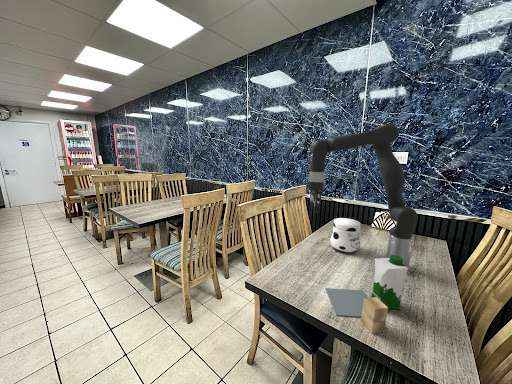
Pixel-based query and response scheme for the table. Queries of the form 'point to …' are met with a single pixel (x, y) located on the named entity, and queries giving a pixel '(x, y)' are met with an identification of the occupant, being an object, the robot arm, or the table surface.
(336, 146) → the robot arm
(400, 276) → the soya milk
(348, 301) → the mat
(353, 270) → the table surface
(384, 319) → the oak block
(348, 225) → the milk container
